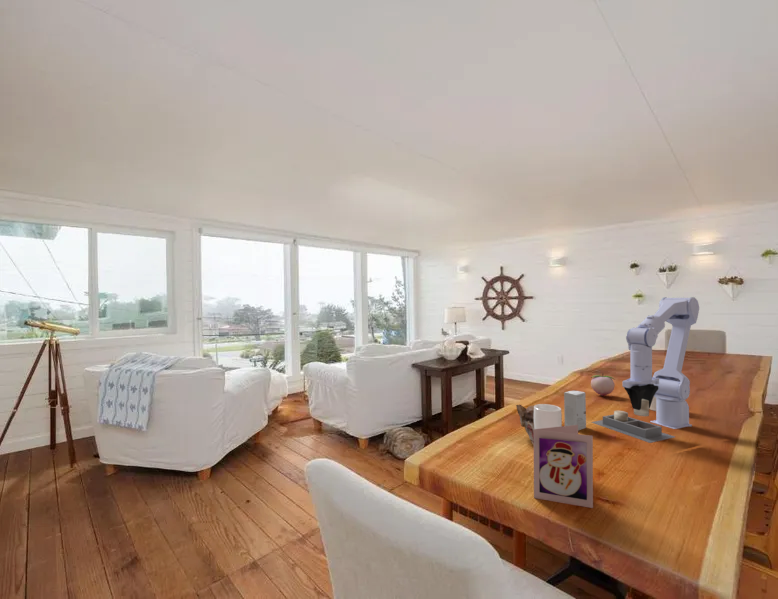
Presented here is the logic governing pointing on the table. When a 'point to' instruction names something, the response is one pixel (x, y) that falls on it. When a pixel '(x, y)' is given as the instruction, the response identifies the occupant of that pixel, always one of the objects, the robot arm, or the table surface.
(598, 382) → the decorative fruit
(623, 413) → the beige round piece
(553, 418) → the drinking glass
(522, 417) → the seed pod
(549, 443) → the greeting card
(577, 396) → the skincare box
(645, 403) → the cream cylinder
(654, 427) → the gray compartment tray
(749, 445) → the table surface
